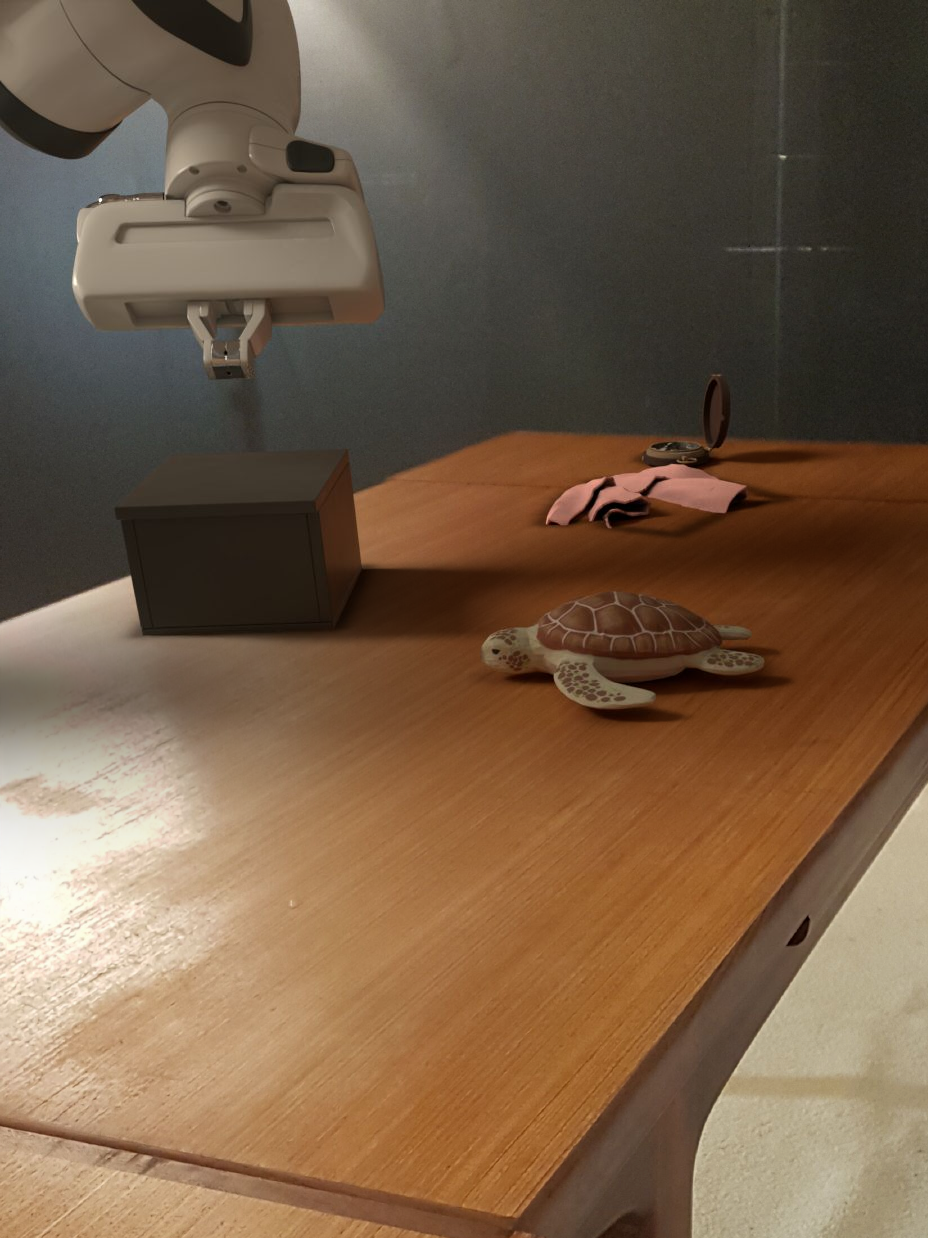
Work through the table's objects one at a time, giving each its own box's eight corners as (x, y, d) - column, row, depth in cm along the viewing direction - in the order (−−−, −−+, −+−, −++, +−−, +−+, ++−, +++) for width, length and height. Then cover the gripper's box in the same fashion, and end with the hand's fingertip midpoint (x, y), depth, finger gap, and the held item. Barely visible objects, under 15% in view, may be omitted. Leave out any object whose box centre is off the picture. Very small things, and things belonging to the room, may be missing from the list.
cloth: (697, 472, 147) (697, 443, 146) (822, 519, 131) (823, 487, 129) (487, 498, 140) (485, 469, 139) (590, 552, 123) (589, 518, 122)
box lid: (316, 513, 102) (314, 500, 101) (115, 520, 102) (113, 506, 101) (349, 460, 116) (348, 448, 115) (172, 466, 116) (170, 454, 115)
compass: (634, 459, 153) (632, 374, 149) (715, 452, 154) (715, 368, 150) (655, 475, 146) (654, 387, 142) (739, 469, 148) (740, 381, 144)
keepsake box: (334, 634, 107) (318, 510, 103) (143, 640, 107) (119, 516, 103) (362, 573, 120) (349, 461, 116) (192, 579, 120) (172, 467, 116)
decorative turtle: (483, 640, 105) (476, 560, 102) (738, 628, 106) (739, 548, 103) (481, 735, 90) (473, 644, 87) (779, 720, 90) (781, 630, 88)
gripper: (62, 160, 106) (53, 345, 103) (374, 150, 106) (374, 335, 103) (94, 232, 112) (86, 409, 110) (389, 223, 112) (389, 399, 110)
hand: (228, 373), depth 107 cm, fingers closed
